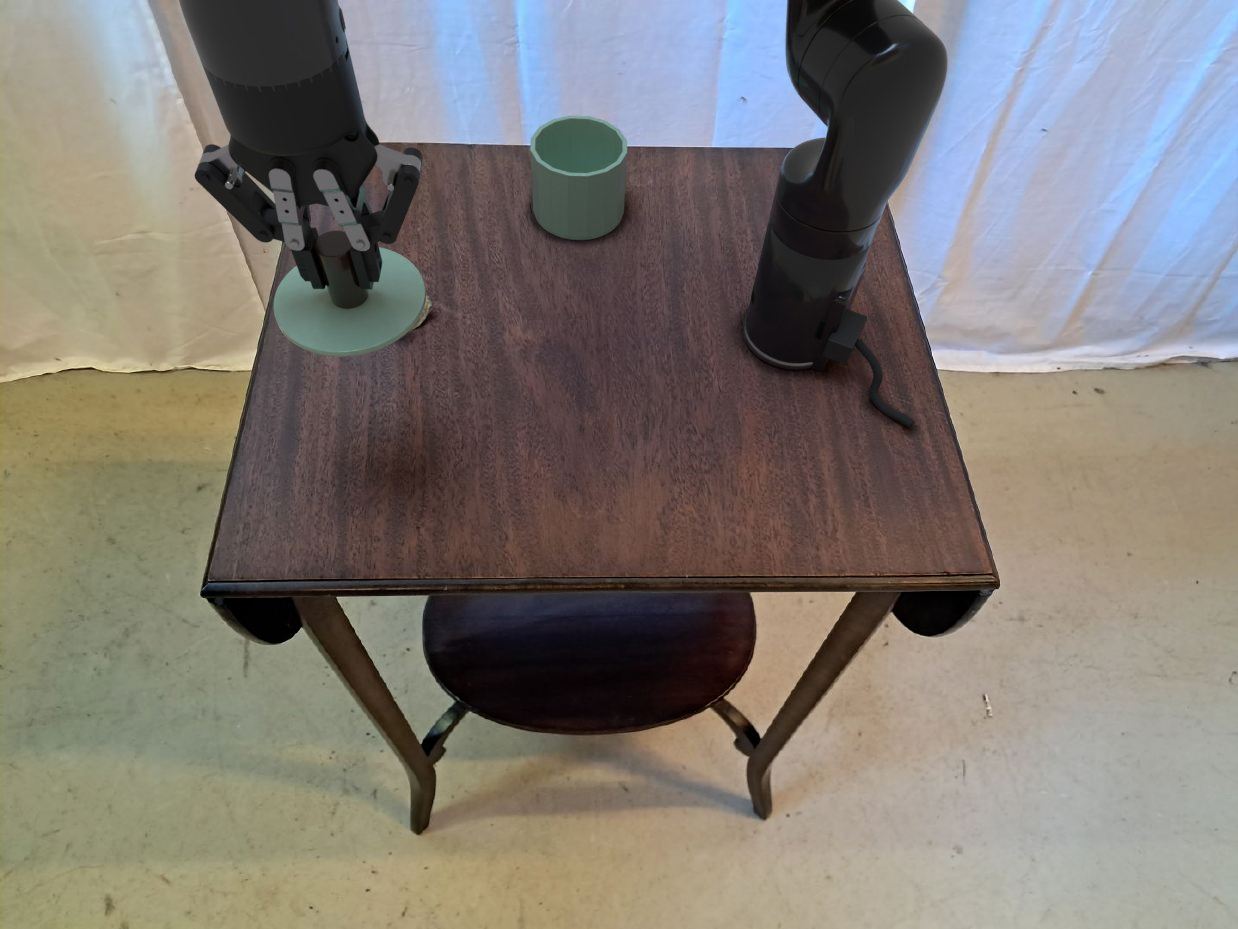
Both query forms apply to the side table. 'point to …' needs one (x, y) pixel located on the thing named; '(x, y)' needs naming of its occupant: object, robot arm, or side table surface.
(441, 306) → the side table surface
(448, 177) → the side table surface
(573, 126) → the pot
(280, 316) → the lid
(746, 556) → the side table surface
